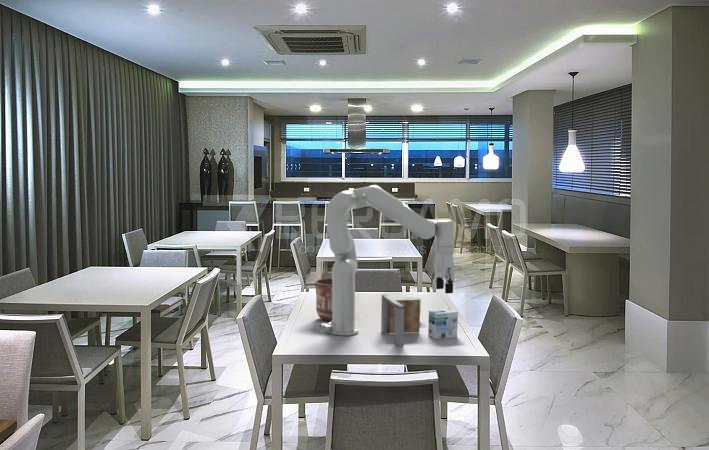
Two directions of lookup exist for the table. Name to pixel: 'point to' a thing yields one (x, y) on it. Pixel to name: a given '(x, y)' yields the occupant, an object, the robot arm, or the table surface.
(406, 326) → the door
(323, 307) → the pottery
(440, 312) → the light bulb box
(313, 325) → the table surface
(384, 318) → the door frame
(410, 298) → the white cup
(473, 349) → the table surface
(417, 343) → the table surface
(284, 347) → the table surface
